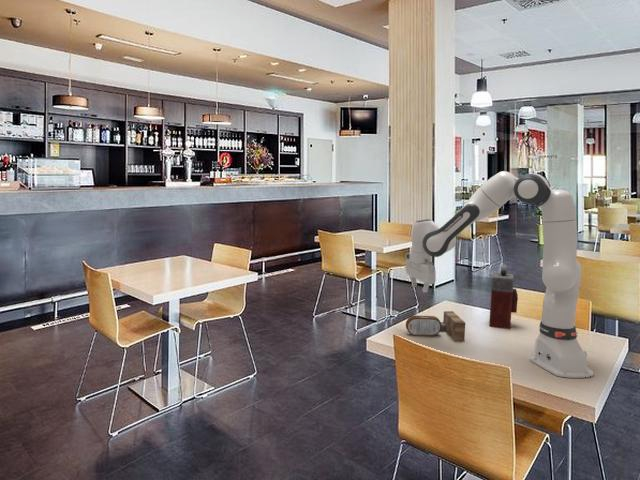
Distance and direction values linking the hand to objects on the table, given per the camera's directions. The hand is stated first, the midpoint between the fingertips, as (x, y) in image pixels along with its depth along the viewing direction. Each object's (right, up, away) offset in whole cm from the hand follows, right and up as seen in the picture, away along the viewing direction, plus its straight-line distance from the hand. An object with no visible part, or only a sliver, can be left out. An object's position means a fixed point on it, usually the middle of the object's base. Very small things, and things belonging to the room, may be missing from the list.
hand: (419, 289), depth 207 cm
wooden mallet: (+8, -20, +2) cm, 21 cm away
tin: (+2, -20, +1) cm, 20 cm away
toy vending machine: (+41, -18, +16) cm, 48 cm away
